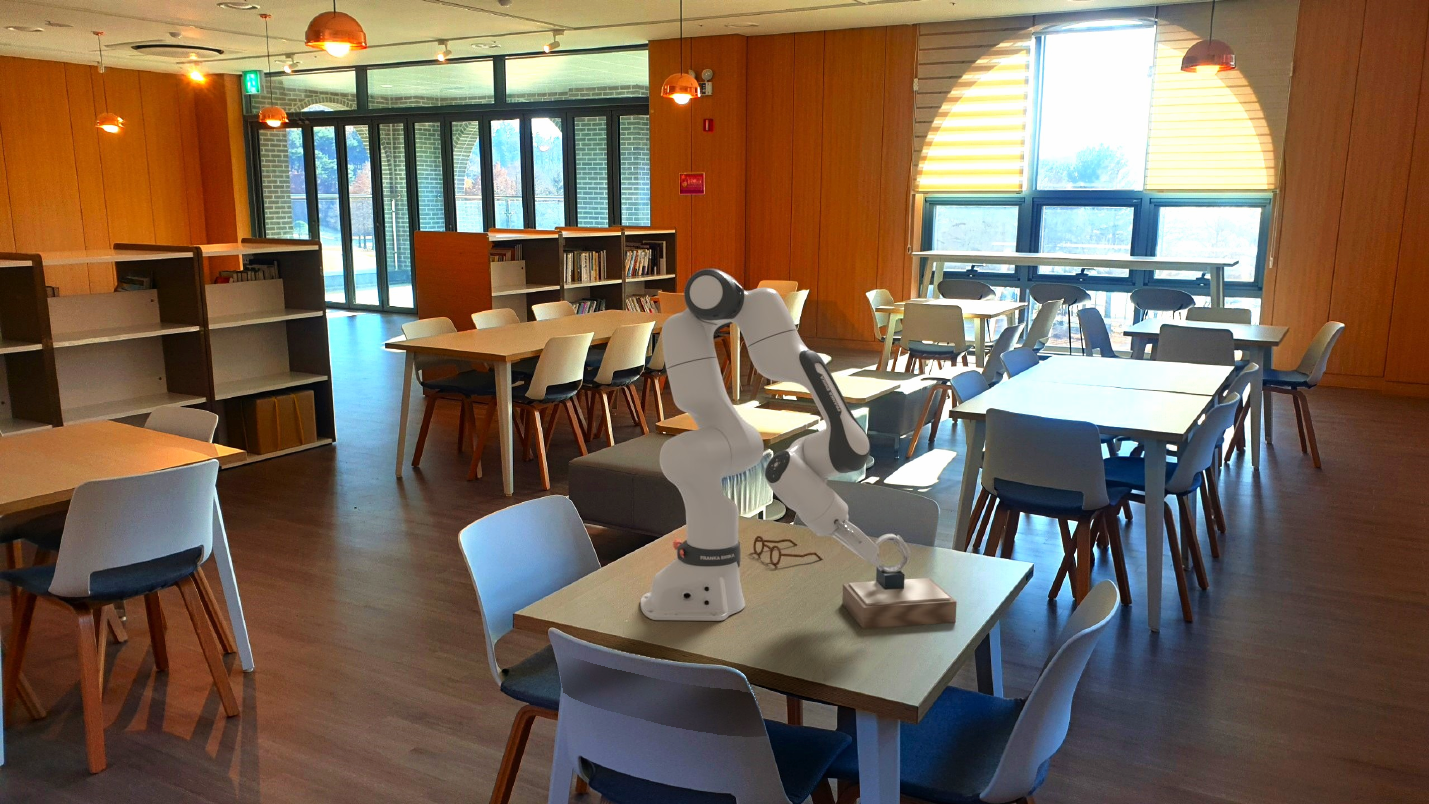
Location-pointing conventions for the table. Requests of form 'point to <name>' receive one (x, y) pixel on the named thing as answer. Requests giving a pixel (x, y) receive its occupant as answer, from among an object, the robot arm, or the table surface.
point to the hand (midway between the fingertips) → (868, 556)
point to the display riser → (899, 604)
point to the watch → (891, 574)
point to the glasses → (778, 549)
